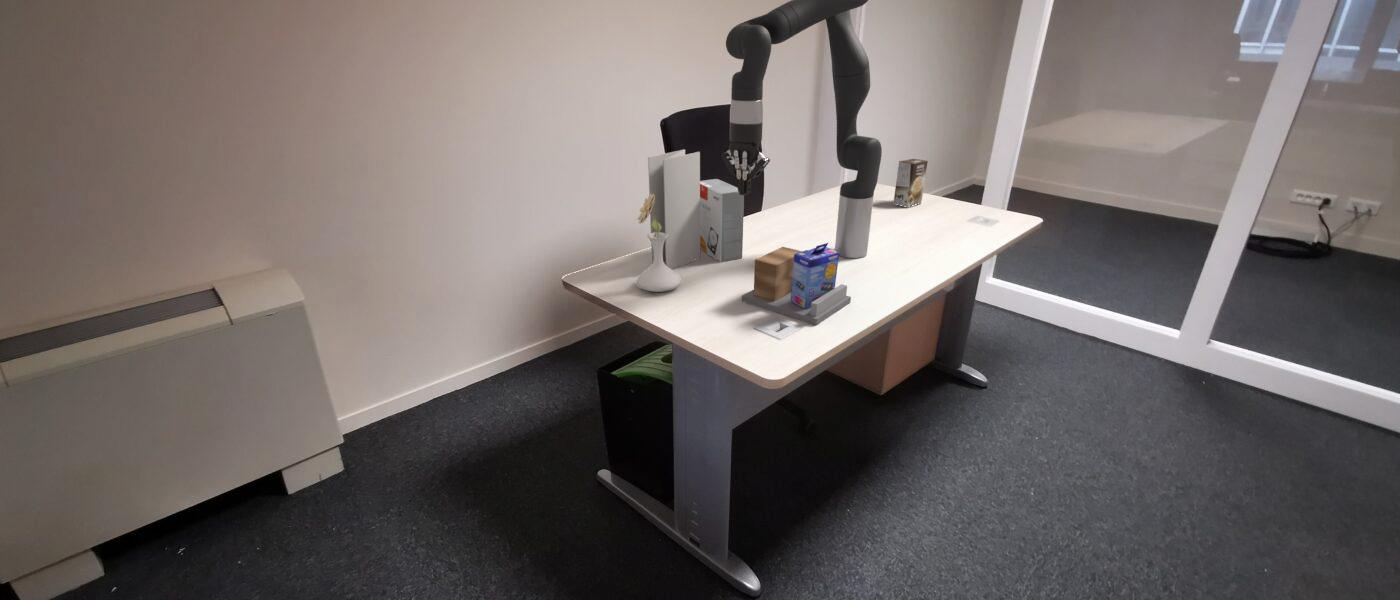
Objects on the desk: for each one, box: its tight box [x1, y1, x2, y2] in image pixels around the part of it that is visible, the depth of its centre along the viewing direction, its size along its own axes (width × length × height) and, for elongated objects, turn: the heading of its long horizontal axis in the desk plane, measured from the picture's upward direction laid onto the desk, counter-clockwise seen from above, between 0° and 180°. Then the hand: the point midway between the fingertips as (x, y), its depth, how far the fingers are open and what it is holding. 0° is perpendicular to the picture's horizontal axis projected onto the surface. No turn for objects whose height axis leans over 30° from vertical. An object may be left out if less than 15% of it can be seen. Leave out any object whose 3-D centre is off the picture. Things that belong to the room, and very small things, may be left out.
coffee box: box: [892, 158, 929, 208], centre depth 227 cm, size 9×6×16 cm
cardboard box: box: [753, 246, 803, 301], centre depth 150 cm, size 12×6×9 cm, turn 140°
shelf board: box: [741, 284, 852, 326], centre depth 149 cm, size 16×20×4 cm
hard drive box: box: [700, 178, 745, 263], centre depth 178 cm, size 16×8×20 cm, turn 27°
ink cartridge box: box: [791, 242, 840, 309], centre depth 143 cm, size 10×6×14 cm, turn 126°
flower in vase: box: [635, 193, 682, 293], centre depth 152 cm, size 13×11×25 cm
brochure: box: [647, 149, 701, 270], centre depth 168 cm, size 14×6×30 cm, turn 141°
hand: (744, 194), depth 149 cm, fingers closed
